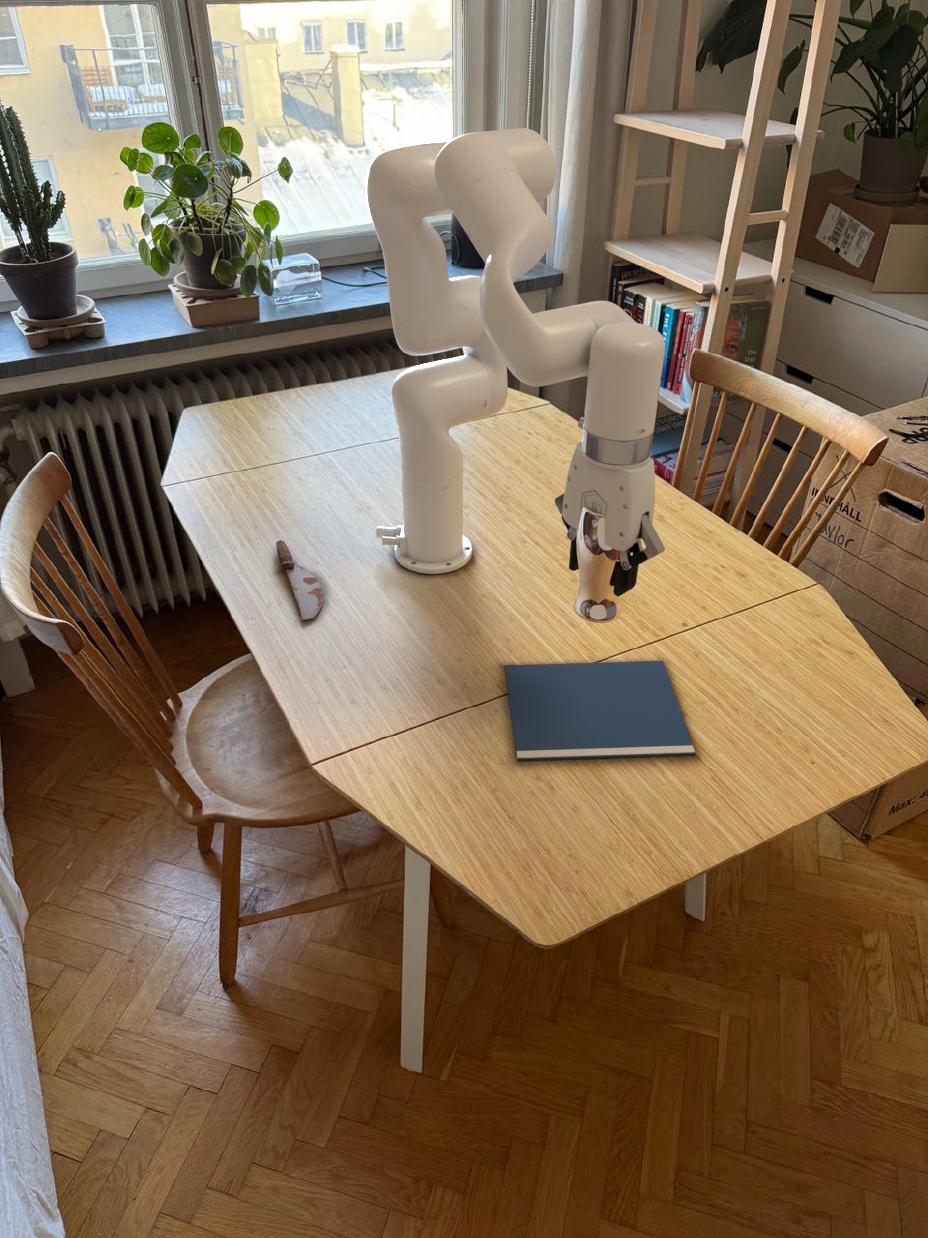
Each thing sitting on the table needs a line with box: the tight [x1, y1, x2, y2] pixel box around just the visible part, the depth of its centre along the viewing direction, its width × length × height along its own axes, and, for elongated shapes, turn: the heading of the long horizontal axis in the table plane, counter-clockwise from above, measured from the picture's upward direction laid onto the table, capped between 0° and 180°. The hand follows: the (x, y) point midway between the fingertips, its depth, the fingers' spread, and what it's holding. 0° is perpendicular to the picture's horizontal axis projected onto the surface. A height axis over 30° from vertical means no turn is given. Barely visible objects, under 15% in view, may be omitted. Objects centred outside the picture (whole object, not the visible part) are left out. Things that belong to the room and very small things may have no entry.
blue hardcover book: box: [504, 660, 696, 762], centre depth 120 cm, size 22×18×1 cm
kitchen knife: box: [275, 539, 325, 621], centre depth 143 cm, size 21×2×5 cm
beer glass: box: [572, 505, 634, 624], centre depth 109 cm, size 7×7×15 cm
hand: (601, 577), depth 111 cm, fingers closed on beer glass, 6 cm apart
